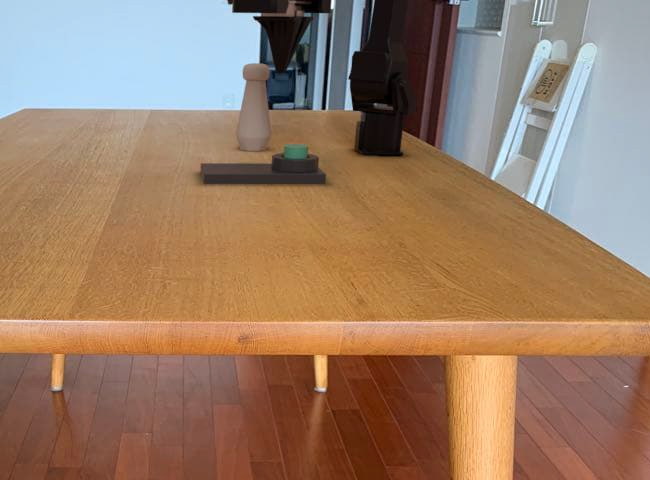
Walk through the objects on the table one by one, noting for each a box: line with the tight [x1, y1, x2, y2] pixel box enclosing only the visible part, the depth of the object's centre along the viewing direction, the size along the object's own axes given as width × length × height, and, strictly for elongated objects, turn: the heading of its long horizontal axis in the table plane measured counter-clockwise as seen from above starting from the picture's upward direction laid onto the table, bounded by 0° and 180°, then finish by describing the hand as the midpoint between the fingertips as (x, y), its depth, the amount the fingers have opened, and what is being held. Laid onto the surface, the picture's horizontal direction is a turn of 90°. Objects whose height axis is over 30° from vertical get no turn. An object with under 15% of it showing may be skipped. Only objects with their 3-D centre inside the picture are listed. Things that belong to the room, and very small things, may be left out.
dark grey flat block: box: [200, 152, 327, 185], centre depth 109 cm, size 16×8×3 cm, turn 93°
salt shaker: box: [235, 62, 272, 152], centre depth 130 cm, size 6×6×13 cm
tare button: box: [283, 143, 309, 159], centre depth 108 cm, size 3×3×2 cm
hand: (280, 72), depth 110 cm, fingers closed
